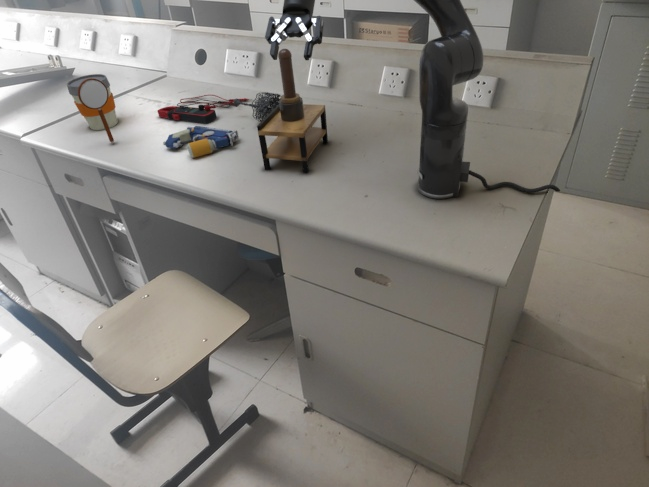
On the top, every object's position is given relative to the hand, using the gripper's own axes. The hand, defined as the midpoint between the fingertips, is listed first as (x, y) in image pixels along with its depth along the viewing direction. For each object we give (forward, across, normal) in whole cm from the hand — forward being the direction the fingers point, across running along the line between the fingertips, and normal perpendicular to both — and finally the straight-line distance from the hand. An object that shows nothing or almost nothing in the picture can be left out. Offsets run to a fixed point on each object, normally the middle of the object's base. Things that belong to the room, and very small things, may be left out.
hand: (289, 58), depth 112 cm
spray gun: (+19, -31, +16) cm, 40 cm away
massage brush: (+5, -19, +30) cm, 36 cm away
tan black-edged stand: (+20, 0, +15) cm, 25 cm away
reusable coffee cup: (+11, -75, +24) cm, 79 cm away
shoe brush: (+12, 0, +8) cm, 14 cm away
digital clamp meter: (0, -45, +35) cm, 57 cm away
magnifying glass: (+20, -61, +15) cm, 66 cm away
